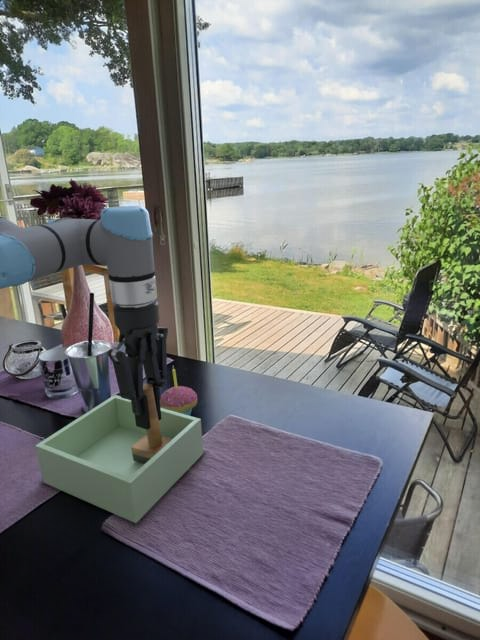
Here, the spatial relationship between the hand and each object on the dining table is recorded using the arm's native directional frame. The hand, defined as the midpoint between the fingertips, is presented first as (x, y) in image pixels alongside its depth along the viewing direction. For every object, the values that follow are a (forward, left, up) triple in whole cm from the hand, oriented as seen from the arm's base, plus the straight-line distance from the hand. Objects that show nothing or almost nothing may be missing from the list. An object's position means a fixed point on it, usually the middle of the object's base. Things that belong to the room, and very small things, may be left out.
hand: (148, 422), depth 82 cm
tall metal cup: (-25, +11, -9) cm, 29 cm away
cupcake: (-5, +16, -9) cm, 19 cm away
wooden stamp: (+1, 0, -8) cm, 8 cm away
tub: (-4, -3, -9) cm, 11 cm away
